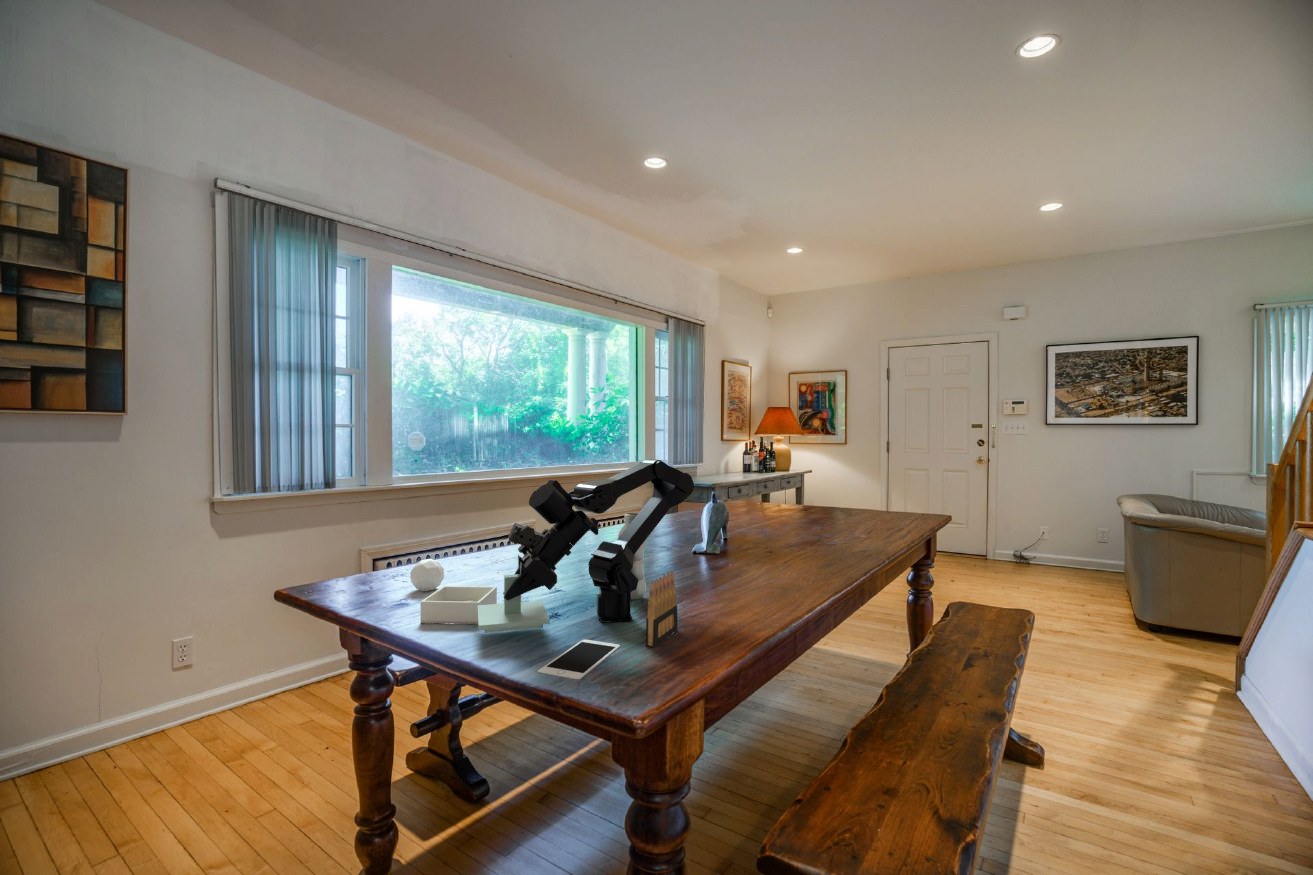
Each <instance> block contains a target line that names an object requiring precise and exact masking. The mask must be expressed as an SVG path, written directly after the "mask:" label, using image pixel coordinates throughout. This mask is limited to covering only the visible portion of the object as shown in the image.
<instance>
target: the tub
mask: <svg viewBox="0 0 1313 875" xmlns="http://www.w3.org/2000/svg"><path fill="white" fill-rule="evenodd" d="M497 590H498V588H497V586H458V585H457V586H456V585H455V586H453V585H451V586H450V585H443V586H441V587H440V588H438V589H437V590H435V591H434V592H433V593H431V594H429V595H428V596H427V597H425V598H423V599H422V600H420V624H421V623H425V624H424V625H427V624H426V623H430V624H429V625H434V624H433V623H457V624H456V625H468V624H475V625H474V626H476V625H477V626H478V605H489V604H498V602H497V601H498V600H497V597H498V596H497V595H498V593H497ZM431 623H432V624H431Z"/></svg>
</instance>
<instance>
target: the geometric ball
mask: <svg viewBox="0 0 1313 875" xmlns="http://www.w3.org/2000/svg"><path fill="white" fill-rule="evenodd" d="M444 570H445V569H444V567H443V566H442V564H440V562H439V561H438V560H435V559H433V558H428V559H427V558H425V559H421V560H420V561H418V562H417V563H416V564H414V566H413V568H412V569H411V570H410V572H409V574H410V582H411V584H412V586H414V588H416V589H417V590H418V591H421V592H423V591H425V592H431V591H434V590H435V589H437V588H438V587H439V586H440V585H441V584H442V582H443V581H444V578H445V572H444Z"/></svg>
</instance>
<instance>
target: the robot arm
mask: <svg viewBox="0 0 1313 875" xmlns="http://www.w3.org/2000/svg"><path fill="white" fill-rule="evenodd" d="M647 483H650V484H651V485H652V486H653V487H652V496H651V498H650V499H648V500H647V502H646V503H645V505H644V506H643V507H642V509H640V511H639V512H638V515H637V516H636V517H635V518H634V519H633V521H632V522H631V523H630V524H629V526H628V527H627V528H626V529H625V530H624V532H623V533H622V534H621V535H620V537H619V538H618V537H617V539H616V540H615V541H613V542H610V541H604V540H603V541H602V542H600V544H599V546H598V547H597V549H596V550H595V551H594V552H591V558H590V559H589V561H588V565H587V566H588V574H589V577H590V578H591V580H592V583H593V586H594V587H597V588H599V593H598V594H596V614H597V617H598V618H599V619H600V622H602V623H609V622H625V621H626V622H629V621H633V616H632V614H631V608H632V606H631V604H632V600H631V592H632V591H634V590H636V589H637V585H638V579H637V578H636V577H635V575H634V574H633V573H632V572H631V569H632V568H633V561H634V555H635V553H636V552H637V550H638V549H639V548H640V547H641V545H642V544H643V543H644V541H645V542H646V540H647V539H648V538H649V537H650V535H651V534H652V533H653V531H655V529H656V527H658V525H659V524H660V522H661V521H662V519H663V518H665V516H666V515H667V513H668V512H669V510H671V509H673V508H674V507H676V506H678V505H681V504H682V503H684V502H685V501H686V500H687V499H688V498H689V497H691V495H692V494H693V491H694V487H695V484H694V481H693V478H692V476H691V475H690V474H689V472H688V473H687V472H684V471H681V470H679V469H677V468H675V467H673V466H671V465H668V464H667V463H666V462H664V461H663V460H660V459H650V458H649V459H648V458H647V459H645V460H643V461H642V462H640V463H638V464H636V465H634V466H632V467H630V468H628V469H625V470H623V471H621V472H619V473H617V474H614V475H612V476H611V477H607V478H605V479H599V480H597V479H596V480H590V481H587V482H586V481H585V482H583V483H578V484H577V485H576V486H575V487H574V488H573V490H570V491H566V489H564V487H562V485H561V483H560V482H559V481H558V480H557V479H549V480H548V481H547V483H545V484H543V485H541V486H539V488H537V489H536V490H534V491H533V492H532V493H531V495H530V497H529V499H528V505H529V507H531V508H532V509H533V510H534V511H535V512H536V513H537V514H538V515H539V516H540V517H542V518H543V519H544V520H545V521H546V522H547V523H548V524H549V525H552V527H550V528H549V529H548V528H547V529H546V528H545V529H544V530H543V531H542V532H539V531H536V530H535V528H534V527H531V526H529V525H527V524H525V525H522V524H520V523H517V522H514V523H513V525H512V528H511V530H510V532H509V534H508V537H507V539H508V541H509V542H511V543H513V544H516V545H517V544H518V545H520V546H519V547H518V548H517V550H518V552H519V553H520V554H523V556H522V557H521V556H520V555H519V554H518V556H517V569H516V570H515V573H514V574H519V575H518V577H517V578H516V579H515V581H514V582H513V584H512V585H511V586H510V588H509V589H508V591H507V592H506V594H505V595H504V591H503V593H502V594H503V599H504V598H505V599H506V600H510V599H513V598H515V597H517V596H519V595H521V596H522V595H524V594H526V593H528V592H530V591H531V592H532V591H534V590H535V589H538V588H540V587H542V588H543V587H545V588H547V589H548V590H549V591H551V590H552V588H554V587H555V586H556V584H558V575H557V573H556V571H555V570H556V569H557V567H556V566H557V564H559V562H560V561H561V560H562V559H563V558H564V557H565V556H567V557H569V556H570V554H571V553H572V551H571V550H572V549H573V548H574V547H575V546H576V545H577V543H578V542H579V541H580V540H581V539H583V537H584V536H585V535H586V534H587V533H588V532H589V531H591V532H592V534H594V535H595V536H598V535H599V520H597V518H595V517H589V516H588V515H587V514H586V513H591V514H597V515H598V514H599V515H600V514H604V513H605V512H606V511H608V510H609V509H610V508H612V507H613V506H614V505H616V502H617V501H618V499H619V498H620V497H621V496H624V495H626V494H627V493H629V492H632V491H634V490H635V489H638V488H639V487H642V486H644V485H646V484H647ZM573 507H574V508H575V509H576V510H574V509H573Z"/></svg>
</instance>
